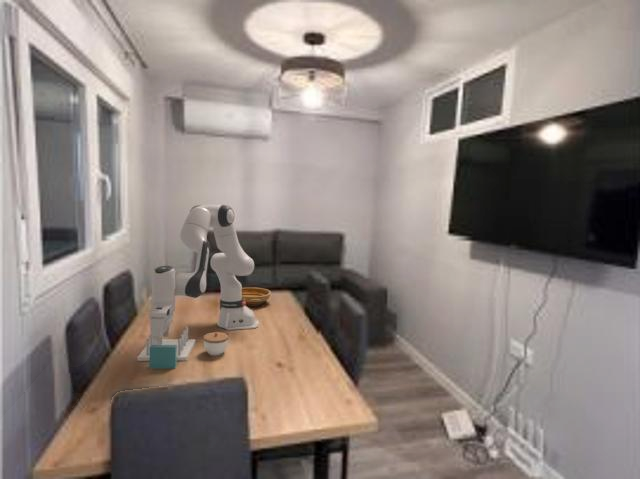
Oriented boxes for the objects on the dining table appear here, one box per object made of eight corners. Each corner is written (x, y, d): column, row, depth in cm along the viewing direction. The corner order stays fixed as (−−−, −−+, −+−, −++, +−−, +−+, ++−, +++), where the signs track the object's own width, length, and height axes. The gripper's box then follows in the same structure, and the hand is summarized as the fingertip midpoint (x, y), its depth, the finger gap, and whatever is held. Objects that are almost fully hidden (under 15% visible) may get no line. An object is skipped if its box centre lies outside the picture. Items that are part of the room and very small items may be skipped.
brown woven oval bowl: (231, 298, 263) (231, 286, 262) (266, 297, 270) (267, 285, 269) (235, 311, 235) (235, 298, 234) (274, 309, 242) (274, 297, 241)
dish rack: (195, 342, 184) (195, 325, 183) (186, 360, 165) (186, 341, 164) (151, 342, 181) (151, 324, 180) (137, 360, 162) (137, 341, 161)
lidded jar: (205, 359, 167) (206, 338, 166) (201, 349, 176) (201, 330, 175) (230, 355, 172) (231, 335, 171) (224, 346, 181) (225, 327, 180)
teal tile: (176, 365, 159) (176, 344, 158) (175, 368, 157) (175, 347, 156) (151, 365, 158) (151, 344, 157) (149, 368, 156) (149, 347, 155)
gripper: (162, 299, 164) (161, 331, 166) (147, 314, 144) (146, 350, 146) (177, 300, 165) (176, 331, 167) (164, 314, 145) (164, 350, 146)
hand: (162, 340), depth 156 cm, fingers open, 8 cm apart
